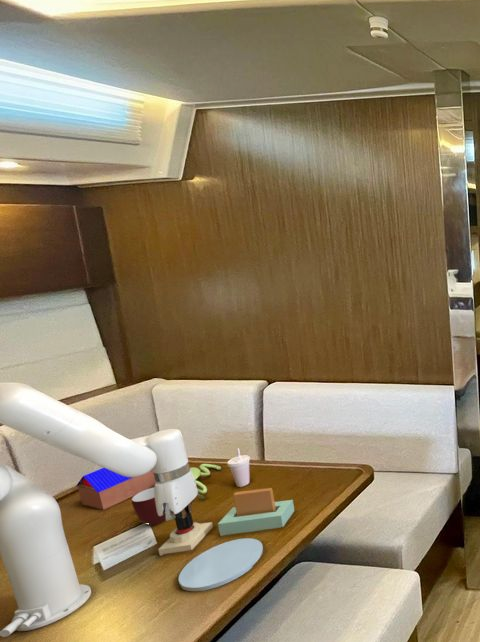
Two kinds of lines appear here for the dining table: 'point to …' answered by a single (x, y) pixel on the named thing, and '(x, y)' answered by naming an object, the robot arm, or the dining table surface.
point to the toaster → (256, 519)
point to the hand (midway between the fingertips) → (185, 527)
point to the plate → (220, 564)
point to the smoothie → (240, 469)
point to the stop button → (184, 530)
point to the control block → (185, 539)
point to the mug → (147, 507)
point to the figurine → (197, 473)
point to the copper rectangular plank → (254, 502)
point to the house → (111, 487)
